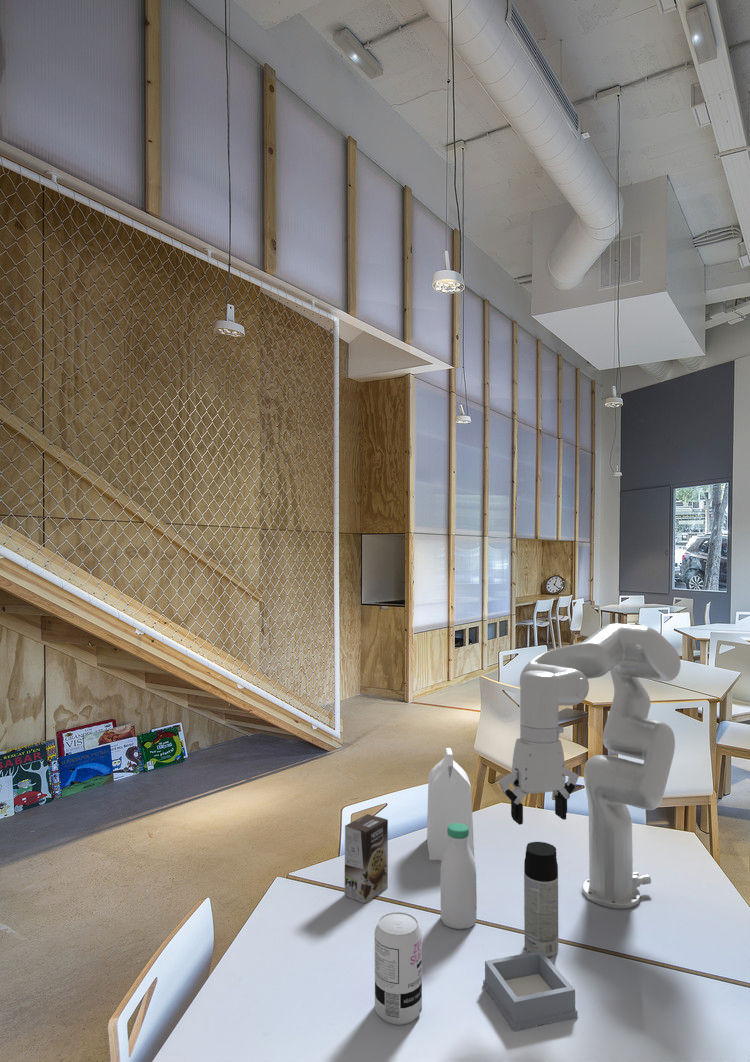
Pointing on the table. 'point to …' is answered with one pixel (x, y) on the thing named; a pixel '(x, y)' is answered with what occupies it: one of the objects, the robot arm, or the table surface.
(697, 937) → the table surface
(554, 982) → the holder
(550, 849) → the spray can
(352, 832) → the coffee box
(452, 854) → the milk bottle
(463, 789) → the milk
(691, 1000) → the table surface
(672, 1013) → the table surface
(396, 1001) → the supplement can
